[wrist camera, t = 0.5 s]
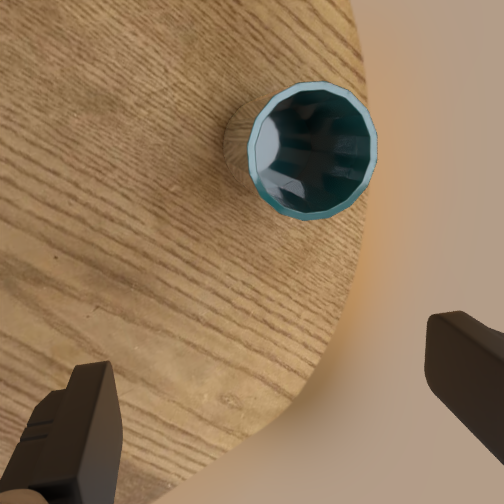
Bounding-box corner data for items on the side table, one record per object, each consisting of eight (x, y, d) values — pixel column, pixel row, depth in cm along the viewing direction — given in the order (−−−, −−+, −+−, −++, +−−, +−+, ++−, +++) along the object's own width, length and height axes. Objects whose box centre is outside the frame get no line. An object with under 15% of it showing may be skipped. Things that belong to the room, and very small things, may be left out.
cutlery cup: (218, 100, 29) (242, 85, 19) (311, 94, 30) (378, 77, 20) (227, 196, 30) (252, 226, 21) (314, 187, 31) (377, 212, 22)
